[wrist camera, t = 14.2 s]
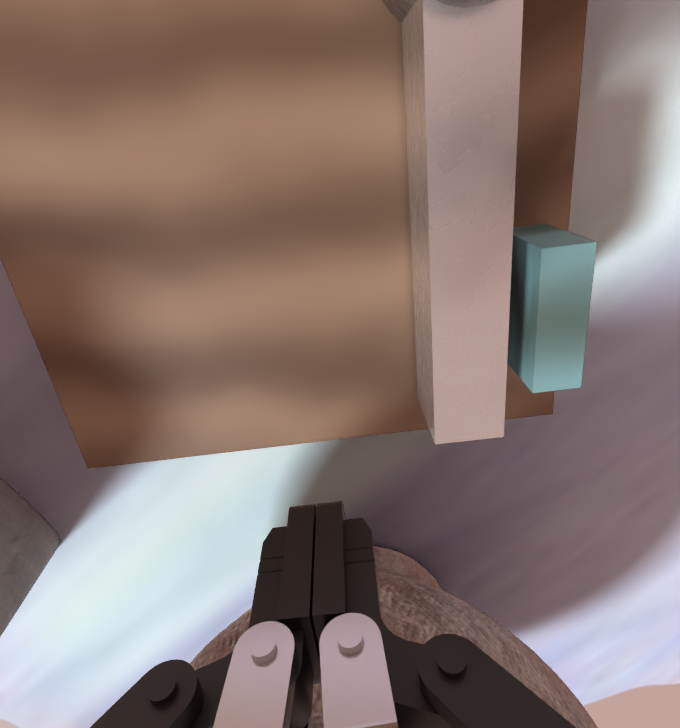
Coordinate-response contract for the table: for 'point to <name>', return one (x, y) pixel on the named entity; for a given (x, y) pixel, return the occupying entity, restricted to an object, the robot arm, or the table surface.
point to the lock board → (256, 219)
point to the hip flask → (20, 550)
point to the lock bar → (461, 204)
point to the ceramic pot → (433, 633)
